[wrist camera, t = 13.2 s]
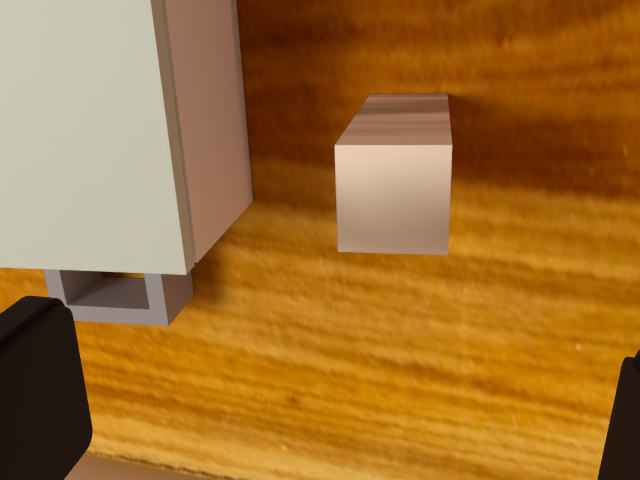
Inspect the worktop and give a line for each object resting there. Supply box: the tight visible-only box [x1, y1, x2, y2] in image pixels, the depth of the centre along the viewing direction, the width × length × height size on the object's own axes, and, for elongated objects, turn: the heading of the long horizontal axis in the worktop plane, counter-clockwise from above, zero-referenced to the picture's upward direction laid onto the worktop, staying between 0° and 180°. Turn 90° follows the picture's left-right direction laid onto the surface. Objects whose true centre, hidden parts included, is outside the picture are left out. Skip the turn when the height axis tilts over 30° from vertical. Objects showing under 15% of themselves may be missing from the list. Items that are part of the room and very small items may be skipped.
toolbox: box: [43, 0, 253, 326], centre depth 30 cm, size 26×16×9 cm, turn 2°
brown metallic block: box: [335, 93, 452, 255], centre depth 27 cm, size 4×4×12 cm
